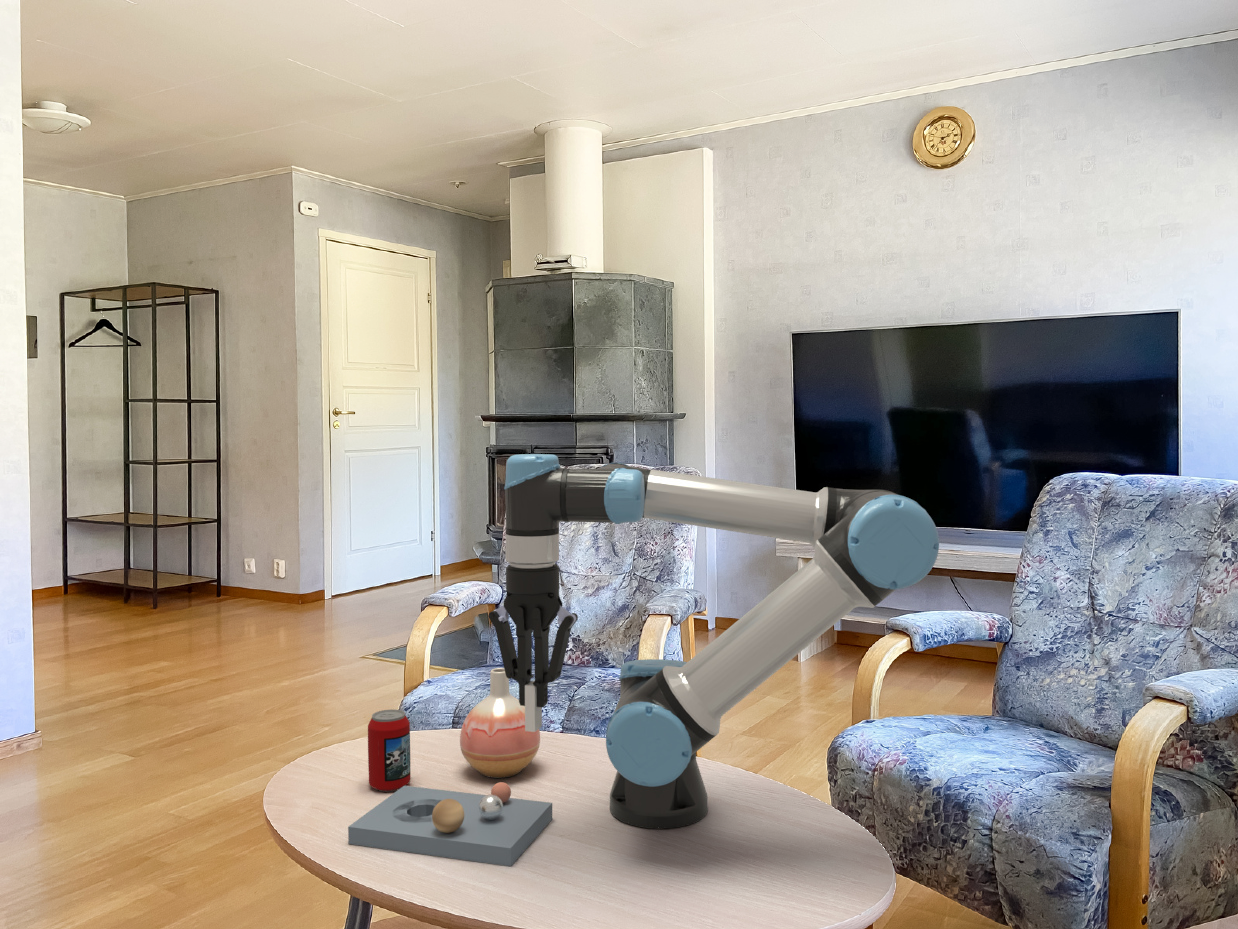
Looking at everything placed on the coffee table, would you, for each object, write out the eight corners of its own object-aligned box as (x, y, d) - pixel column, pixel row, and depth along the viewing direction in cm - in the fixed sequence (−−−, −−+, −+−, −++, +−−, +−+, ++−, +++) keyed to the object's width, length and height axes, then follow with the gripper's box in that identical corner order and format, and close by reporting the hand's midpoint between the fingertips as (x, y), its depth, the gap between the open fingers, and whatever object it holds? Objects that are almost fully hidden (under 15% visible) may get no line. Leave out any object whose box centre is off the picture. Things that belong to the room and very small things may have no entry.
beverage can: (400, 795, 155) (399, 721, 155) (361, 792, 156) (360, 719, 156) (417, 780, 162) (416, 709, 161) (379, 777, 163) (378, 707, 162)
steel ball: (506, 815, 141) (506, 792, 141) (497, 825, 137) (496, 801, 137) (484, 813, 142) (484, 789, 142) (474, 822, 138) (474, 798, 138)
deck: (552, 819, 146) (552, 802, 145) (510, 866, 130) (510, 848, 130) (404, 801, 153) (404, 785, 153) (348, 844, 137) (348, 826, 137)
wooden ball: (469, 827, 137) (469, 795, 137) (455, 840, 133) (455, 808, 133) (441, 823, 138) (440, 792, 138) (426, 836, 134) (425, 804, 134)
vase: (498, 752, 175) (497, 656, 174) (556, 768, 167) (555, 667, 166) (443, 775, 164) (441, 672, 163) (503, 793, 156) (501, 685, 155)
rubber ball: (514, 799, 147) (514, 780, 147) (506, 807, 144) (506, 787, 144) (496, 797, 148) (495, 778, 147) (487, 805, 145) (487, 785, 145)
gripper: (584, 561, 138) (585, 724, 139) (500, 558, 141) (501, 716, 142) (567, 569, 130) (567, 741, 132) (478, 565, 134) (480, 732, 135)
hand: (533, 728), depth 137 cm, fingers closed
